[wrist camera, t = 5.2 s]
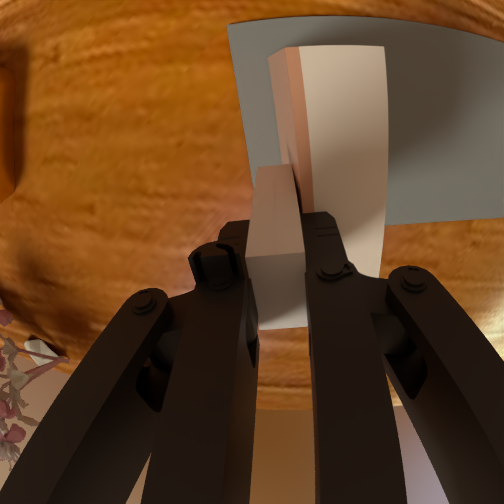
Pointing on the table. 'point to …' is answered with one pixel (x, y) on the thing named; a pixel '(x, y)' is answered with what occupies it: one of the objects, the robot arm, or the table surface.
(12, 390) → the flower
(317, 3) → the table surface
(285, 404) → the table surface
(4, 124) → the element tile
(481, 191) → the mat
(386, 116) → the tile
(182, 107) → the table surface
